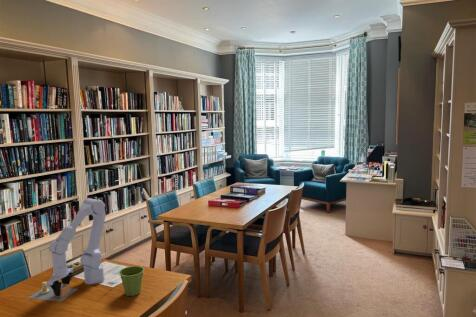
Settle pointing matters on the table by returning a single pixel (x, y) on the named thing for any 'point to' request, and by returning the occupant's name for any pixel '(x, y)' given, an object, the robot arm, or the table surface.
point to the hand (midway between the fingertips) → (61, 292)
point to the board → (49, 293)
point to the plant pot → (132, 279)
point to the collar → (63, 290)
